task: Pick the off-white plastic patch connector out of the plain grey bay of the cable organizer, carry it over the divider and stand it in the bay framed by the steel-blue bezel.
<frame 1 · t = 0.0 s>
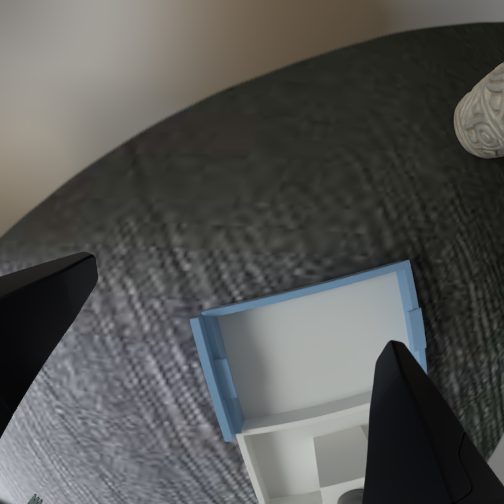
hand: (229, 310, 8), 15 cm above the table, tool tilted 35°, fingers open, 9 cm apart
patch connector: (339, 449, 21), resting on cable organizer
cable organizer: (331, 402, 22), on the table
carving: (473, 134, 22), on the table
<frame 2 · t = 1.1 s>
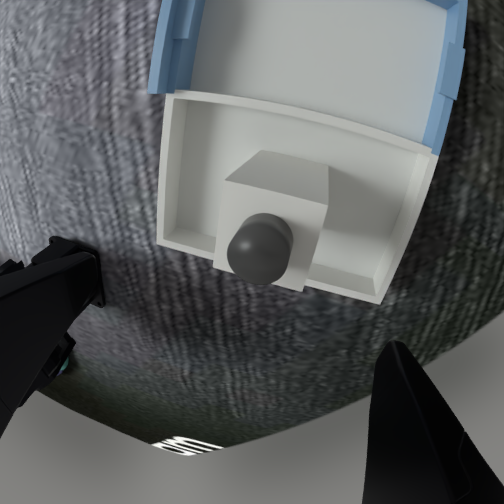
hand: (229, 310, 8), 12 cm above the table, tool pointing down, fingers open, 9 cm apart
patch connector: (287, 188, 18), resting on cable organizer
cable organizer: (304, 111, 16), on the table
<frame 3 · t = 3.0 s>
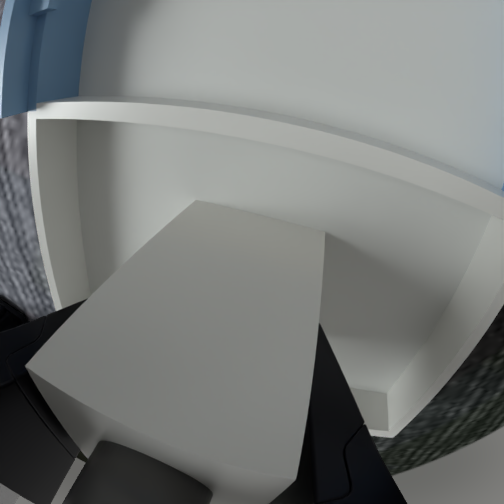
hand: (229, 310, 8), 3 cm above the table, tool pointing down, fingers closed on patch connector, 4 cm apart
patch connector: (248, 270, 10), resting on cable organizer, touching gripper
cable organizer: (279, 121, 8), on the table
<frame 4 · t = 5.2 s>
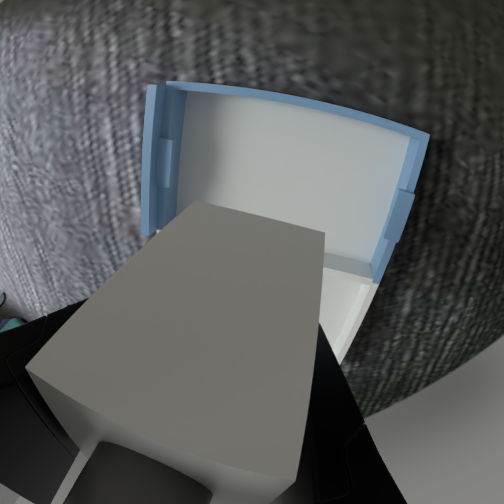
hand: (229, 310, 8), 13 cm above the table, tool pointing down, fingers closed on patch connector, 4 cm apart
patch connector: (248, 271, 10), point 11 cm above the table, touching gripper
cable organizer: (271, 239, 21), on the table
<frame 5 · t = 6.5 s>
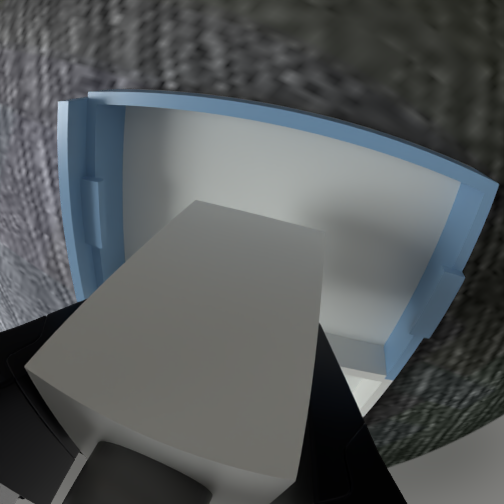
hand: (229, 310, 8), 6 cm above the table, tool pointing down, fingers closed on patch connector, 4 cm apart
patch connector: (248, 270, 10), point 3 cm above the table, touching gripper
cable organizer: (251, 311, 15), on the table
when the fingers open (4 cm above the table, at t = 7.6 s): patch connector drops 1 cm, resting on cable organizer.
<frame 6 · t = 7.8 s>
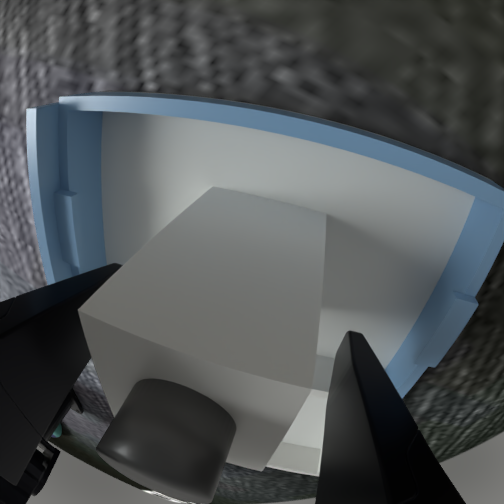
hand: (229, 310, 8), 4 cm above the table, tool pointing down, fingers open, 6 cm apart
patch connector: (258, 249, 11), resting on cable organizer
cable organizer: (242, 332, 14), on the table
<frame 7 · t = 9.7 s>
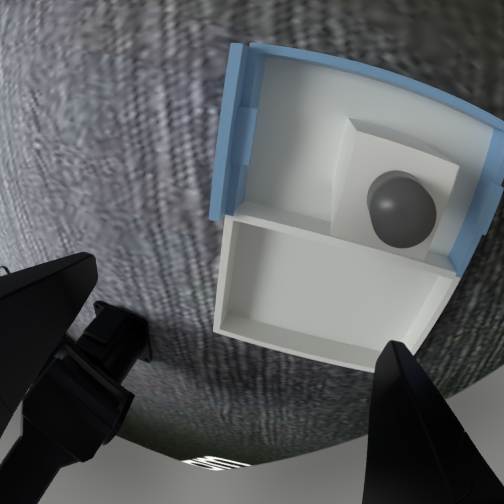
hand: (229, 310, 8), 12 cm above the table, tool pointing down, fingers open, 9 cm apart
patch connector: (373, 159, 16), resting on cable organizer
cable organizer: (351, 229, 19), on the table
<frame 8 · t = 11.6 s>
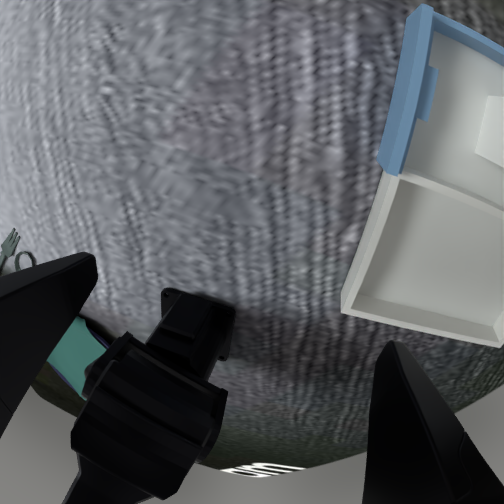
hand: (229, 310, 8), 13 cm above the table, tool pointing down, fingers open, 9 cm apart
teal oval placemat: (68, 333, 35), on the table
cable organizer: (481, 199, 16), on the table
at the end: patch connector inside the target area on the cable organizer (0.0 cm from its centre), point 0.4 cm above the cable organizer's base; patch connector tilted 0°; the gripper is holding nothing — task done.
